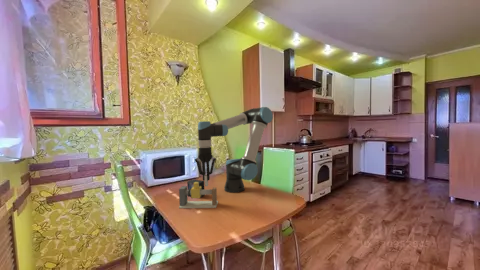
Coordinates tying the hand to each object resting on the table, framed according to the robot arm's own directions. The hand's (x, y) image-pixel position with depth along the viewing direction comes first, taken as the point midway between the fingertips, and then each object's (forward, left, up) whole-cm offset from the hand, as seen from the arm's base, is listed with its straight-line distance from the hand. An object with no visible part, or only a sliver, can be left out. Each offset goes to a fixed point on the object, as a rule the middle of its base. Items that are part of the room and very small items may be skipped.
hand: (206, 185), depth 123 cm
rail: (+5, 0, -12) cm, 13 cm away
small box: (+11, -17, -12) cm, 23 cm away
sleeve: (+6, 0, -7) cm, 9 cm away
